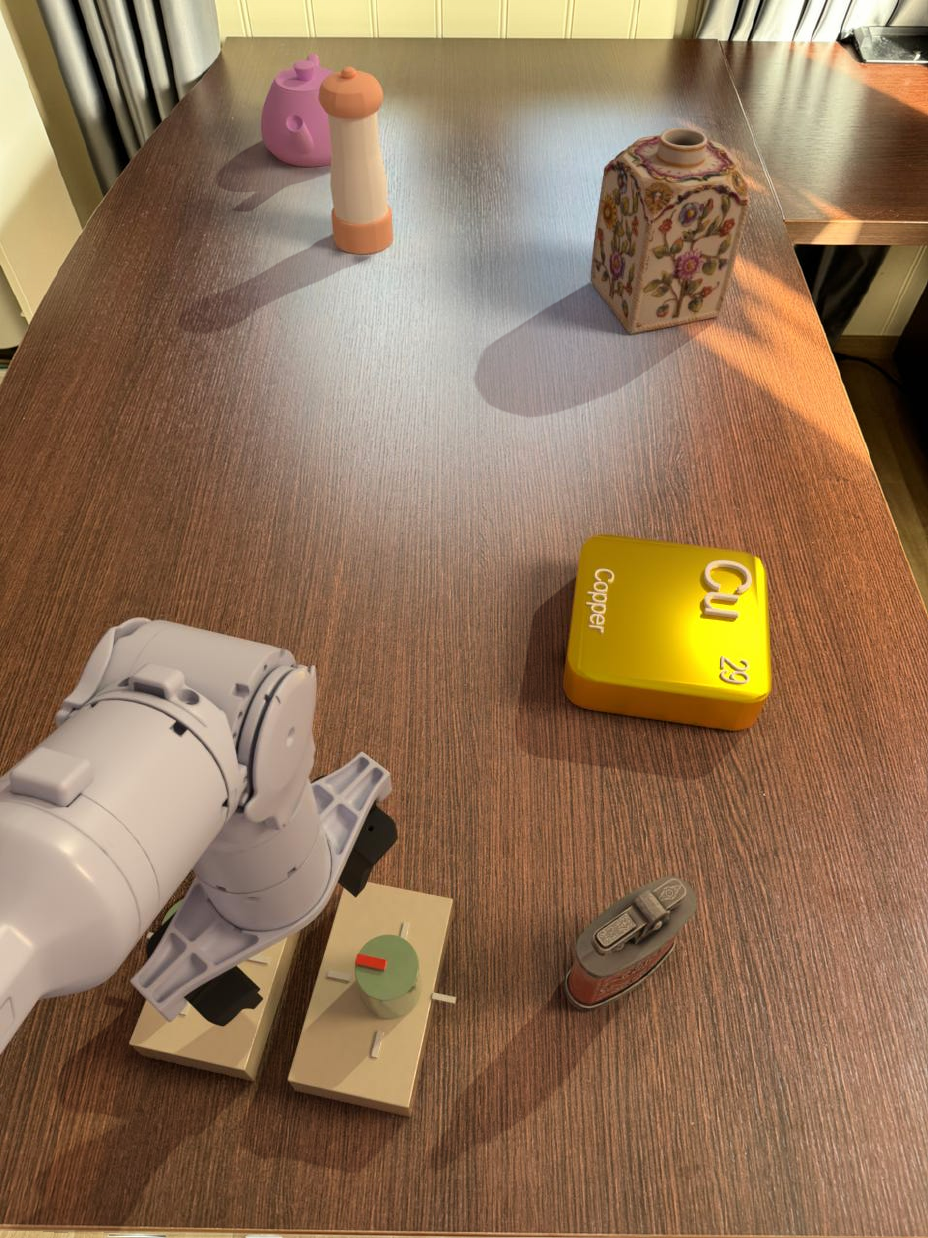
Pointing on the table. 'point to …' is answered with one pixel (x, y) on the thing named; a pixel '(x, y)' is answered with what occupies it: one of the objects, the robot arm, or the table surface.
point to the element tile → (669, 632)
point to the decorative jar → (668, 230)
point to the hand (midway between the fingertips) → (297, 935)
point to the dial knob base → (344, 1027)
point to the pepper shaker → (356, 162)
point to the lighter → (628, 942)
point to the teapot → (297, 116)
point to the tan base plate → (216, 1045)
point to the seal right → (388, 976)
